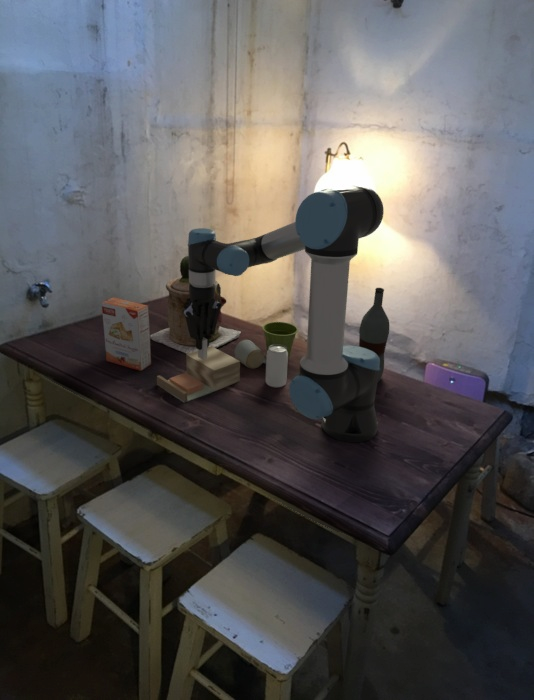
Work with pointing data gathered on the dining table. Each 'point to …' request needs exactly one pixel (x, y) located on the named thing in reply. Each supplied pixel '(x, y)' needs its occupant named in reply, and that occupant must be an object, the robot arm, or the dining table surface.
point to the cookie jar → (178, 328)
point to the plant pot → (280, 334)
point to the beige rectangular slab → (214, 368)
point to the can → (276, 366)
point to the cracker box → (126, 333)
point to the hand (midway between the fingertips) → (202, 357)
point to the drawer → (179, 392)
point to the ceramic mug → (249, 354)
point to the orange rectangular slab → (187, 383)
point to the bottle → (375, 329)
